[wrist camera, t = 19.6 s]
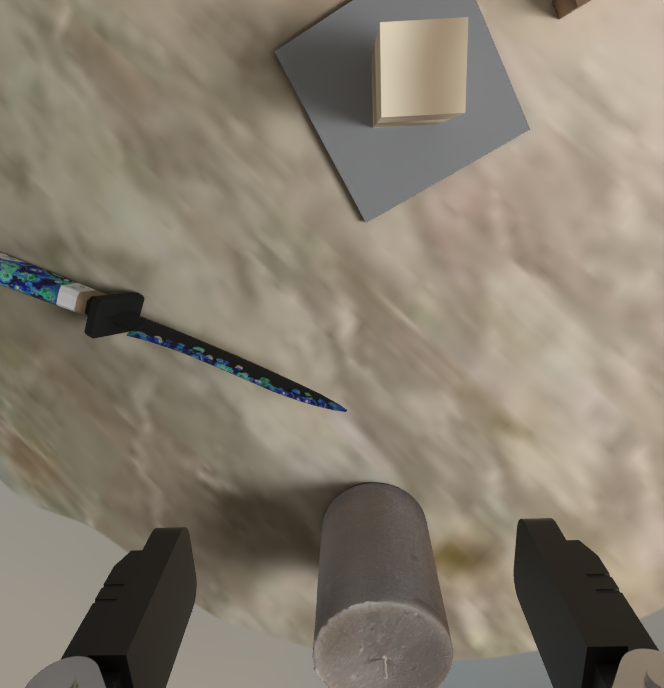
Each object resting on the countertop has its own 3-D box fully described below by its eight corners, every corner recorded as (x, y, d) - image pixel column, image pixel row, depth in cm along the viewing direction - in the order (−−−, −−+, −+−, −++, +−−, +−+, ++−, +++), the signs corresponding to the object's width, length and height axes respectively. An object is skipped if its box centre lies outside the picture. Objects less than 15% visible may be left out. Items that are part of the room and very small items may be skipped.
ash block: (373, 127, 37) (381, 117, 29) (371, 55, 36) (379, 22, 27) (437, 124, 37) (465, 112, 28) (438, 52, 35) (468, 17, 27)
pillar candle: (443, 545, 49) (482, 699, 35) (350, 582, 51) (352, 745, 37) (397, 464, 46) (420, 596, 32) (300, 507, 48) (282, 650, 34)
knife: (-10, 260, 43) (-56, 270, 38) (-2, 225, 42) (-49, 231, 37) (336, 423, 43) (328, 451, 39) (352, 392, 42) (346, 417, 38)
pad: (275, 53, 36) (274, 51, 36) (447, -60, 34) (449, -64, 33) (365, 222, 40) (365, 222, 39) (527, 129, 37) (530, 129, 37)
